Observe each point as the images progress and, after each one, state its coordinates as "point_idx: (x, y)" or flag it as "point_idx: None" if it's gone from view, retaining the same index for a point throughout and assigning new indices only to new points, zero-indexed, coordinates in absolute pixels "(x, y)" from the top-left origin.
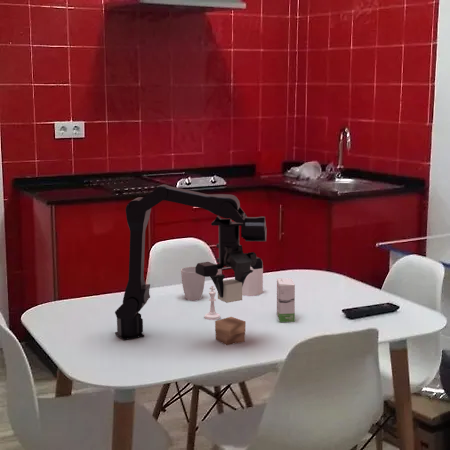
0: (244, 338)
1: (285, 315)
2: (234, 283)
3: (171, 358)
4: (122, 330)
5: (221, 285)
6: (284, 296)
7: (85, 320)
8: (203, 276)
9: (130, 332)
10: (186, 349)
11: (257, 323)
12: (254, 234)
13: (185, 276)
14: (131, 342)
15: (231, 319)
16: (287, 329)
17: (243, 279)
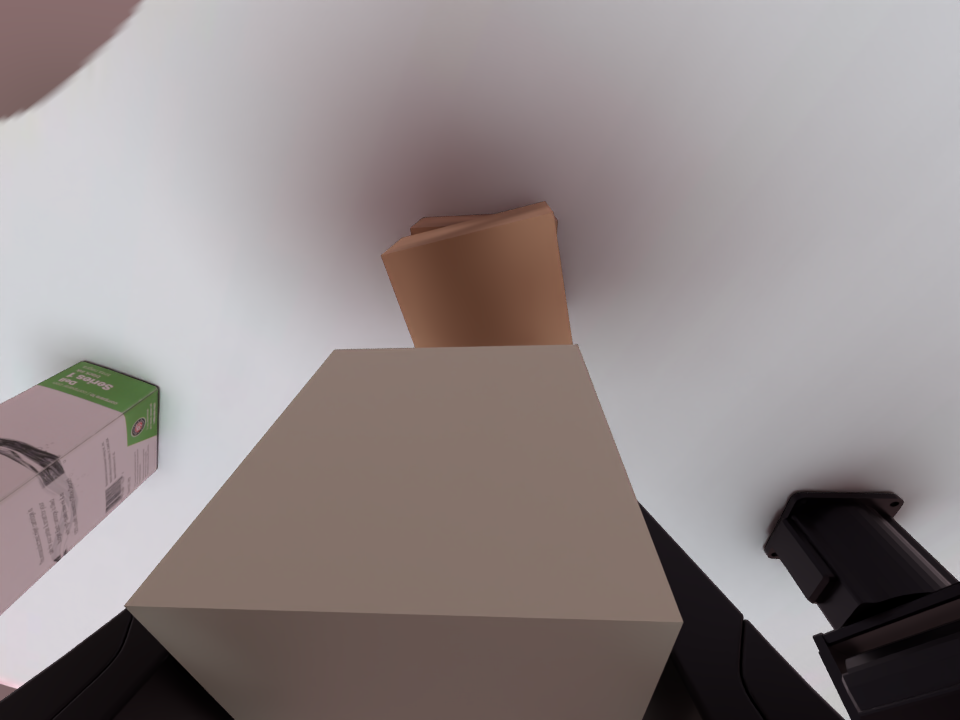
0: (422, 220)
1: (98, 395)
2: (366, 633)
3: None
4: (915, 540)
5: (732, 662)
6: None
7: (804, 663)
8: None
9: (877, 520)
10: (785, 259)
11: (267, 418)
12: None
13: None
14: (892, 462)
15: (458, 345)
16: (133, 283)
17: (30, 716)
